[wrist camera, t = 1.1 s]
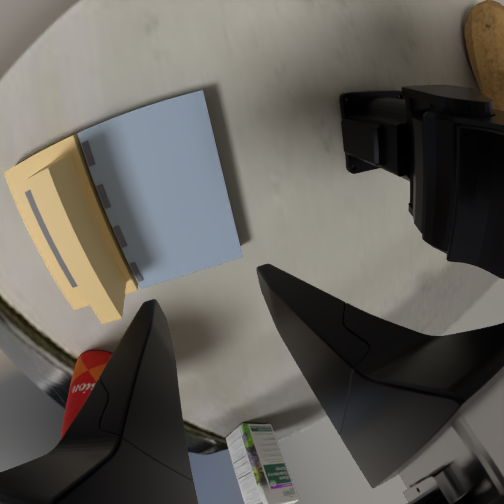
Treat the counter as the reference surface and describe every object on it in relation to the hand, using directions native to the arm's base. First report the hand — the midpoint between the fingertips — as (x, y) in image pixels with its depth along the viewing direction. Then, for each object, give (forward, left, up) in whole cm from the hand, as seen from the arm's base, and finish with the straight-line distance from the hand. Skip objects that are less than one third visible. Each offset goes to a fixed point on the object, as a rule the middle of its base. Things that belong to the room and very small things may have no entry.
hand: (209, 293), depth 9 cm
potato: (-32, -9, -12) cm, 36 cm away
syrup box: (+4, +39, -12) cm, 41 cm away
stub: (+9, 0, -12) cm, 15 cm away
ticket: (+2, 0, -12) cm, 12 cm away
